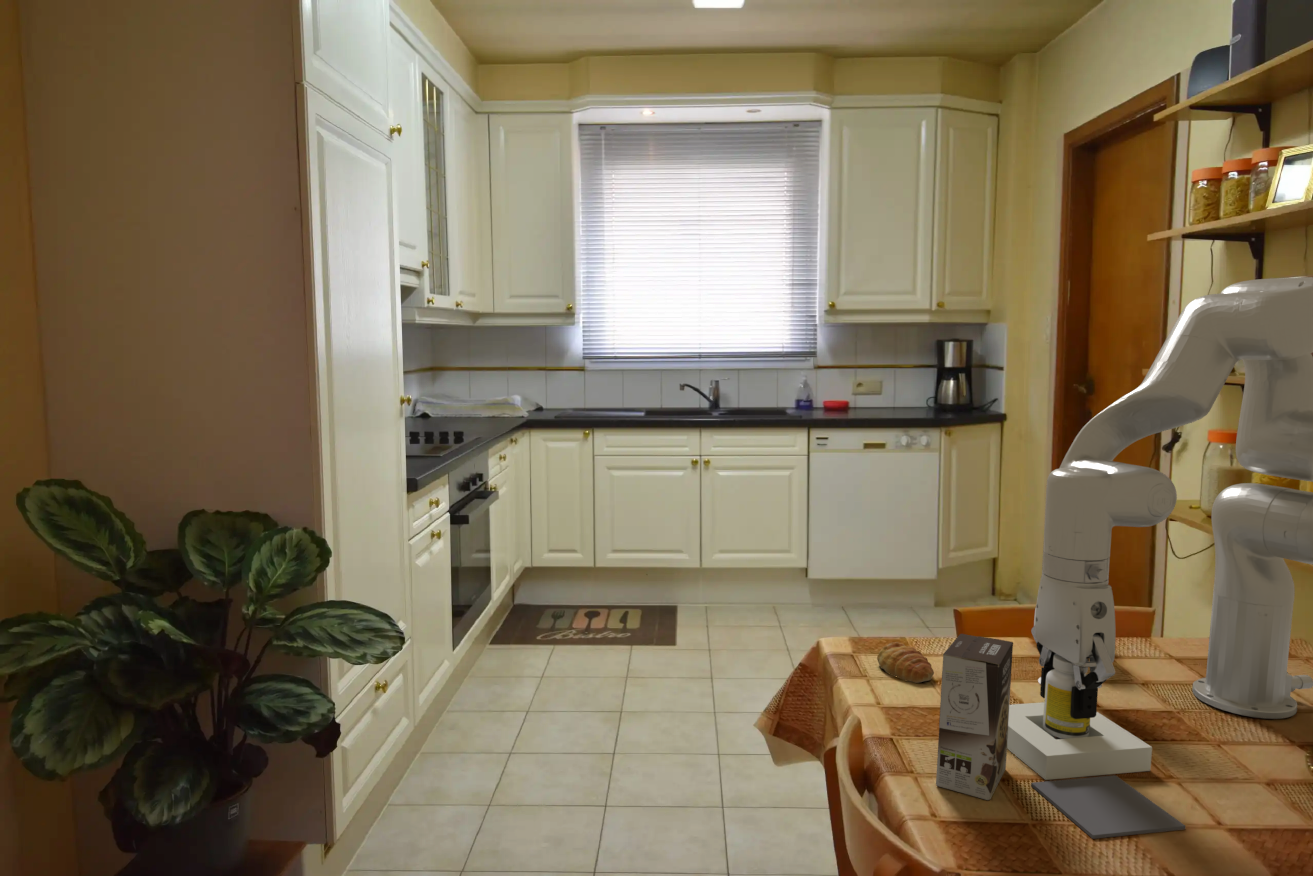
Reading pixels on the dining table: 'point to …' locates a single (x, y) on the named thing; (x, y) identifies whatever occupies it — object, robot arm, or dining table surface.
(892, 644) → the pastry
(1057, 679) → the supplement bottle
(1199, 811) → the dining table surface
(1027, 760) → the socket block
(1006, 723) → the coffee box
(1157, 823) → the mat
